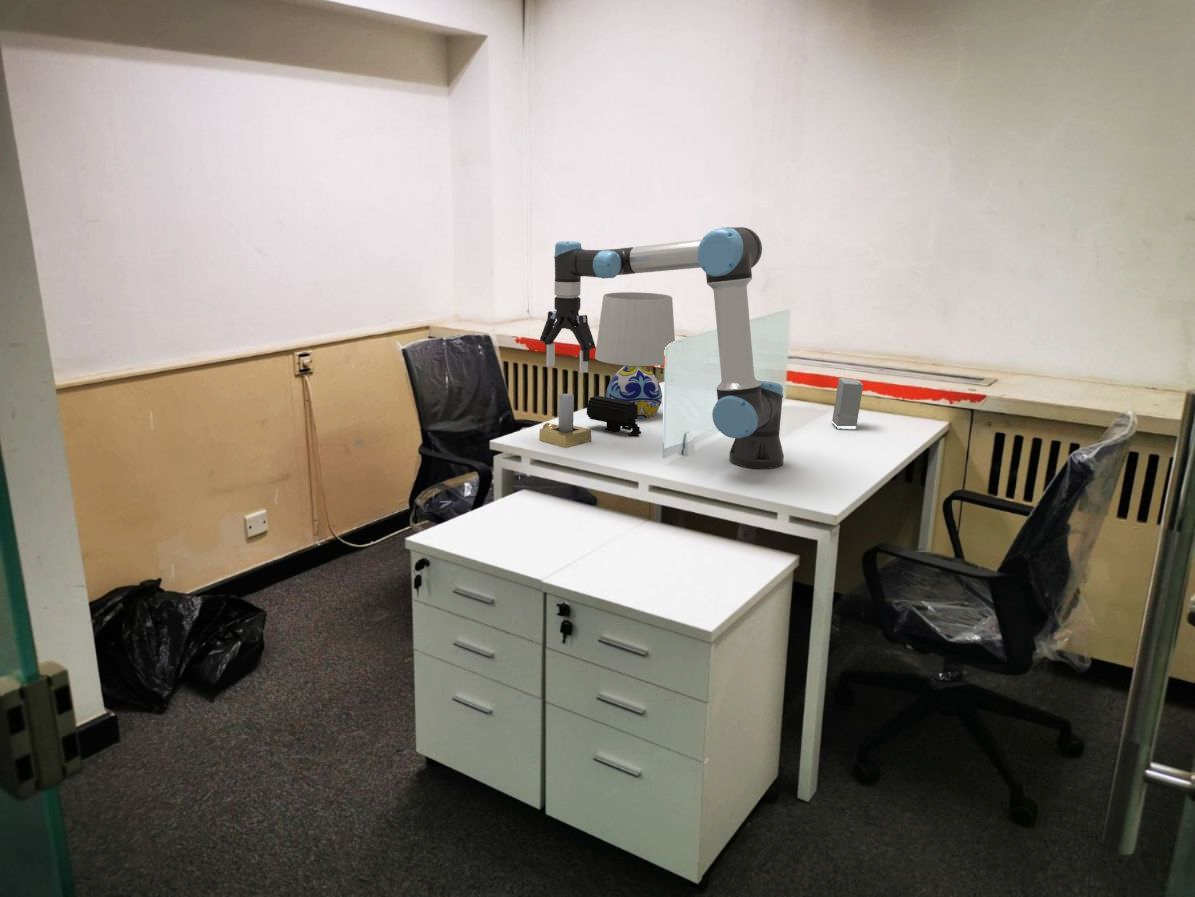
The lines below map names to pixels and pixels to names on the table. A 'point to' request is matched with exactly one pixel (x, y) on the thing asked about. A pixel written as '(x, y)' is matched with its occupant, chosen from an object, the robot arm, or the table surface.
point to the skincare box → (847, 402)
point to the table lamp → (635, 345)
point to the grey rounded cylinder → (566, 412)
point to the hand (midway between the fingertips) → (566, 369)
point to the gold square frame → (564, 435)
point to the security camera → (614, 414)
